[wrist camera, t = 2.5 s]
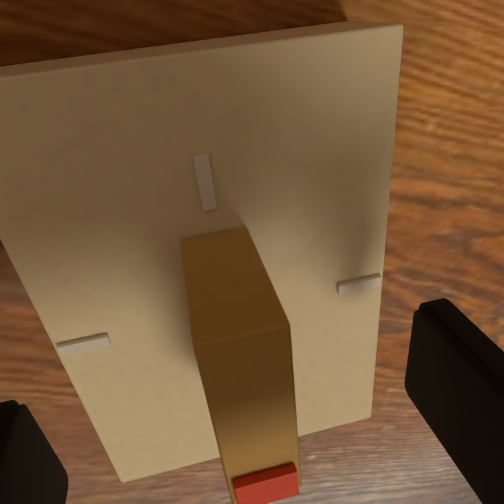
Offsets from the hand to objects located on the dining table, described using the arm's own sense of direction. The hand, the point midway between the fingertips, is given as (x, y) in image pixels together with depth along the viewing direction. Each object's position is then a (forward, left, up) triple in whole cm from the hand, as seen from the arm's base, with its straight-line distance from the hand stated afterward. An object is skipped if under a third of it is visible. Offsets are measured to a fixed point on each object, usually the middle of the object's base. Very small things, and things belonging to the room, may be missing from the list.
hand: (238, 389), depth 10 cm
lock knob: (0, 0, -3) cm, 3 cm away
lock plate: (0, 0, -6) cm, 6 cm away
